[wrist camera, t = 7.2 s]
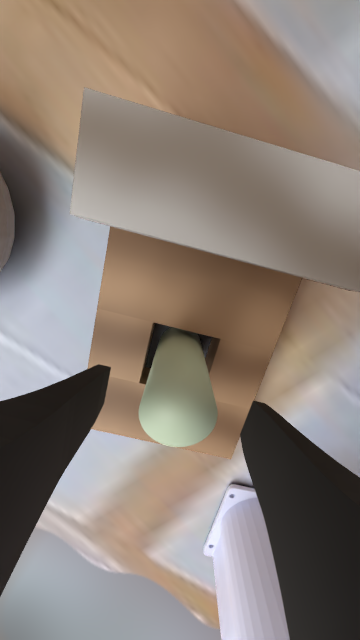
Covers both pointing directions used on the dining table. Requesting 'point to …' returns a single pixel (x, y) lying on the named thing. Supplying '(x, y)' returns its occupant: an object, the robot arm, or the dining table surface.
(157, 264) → the socket board
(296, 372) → the dining table surface
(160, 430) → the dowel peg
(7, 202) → the coffee pot
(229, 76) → the dining table surface
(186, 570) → the dining table surface
